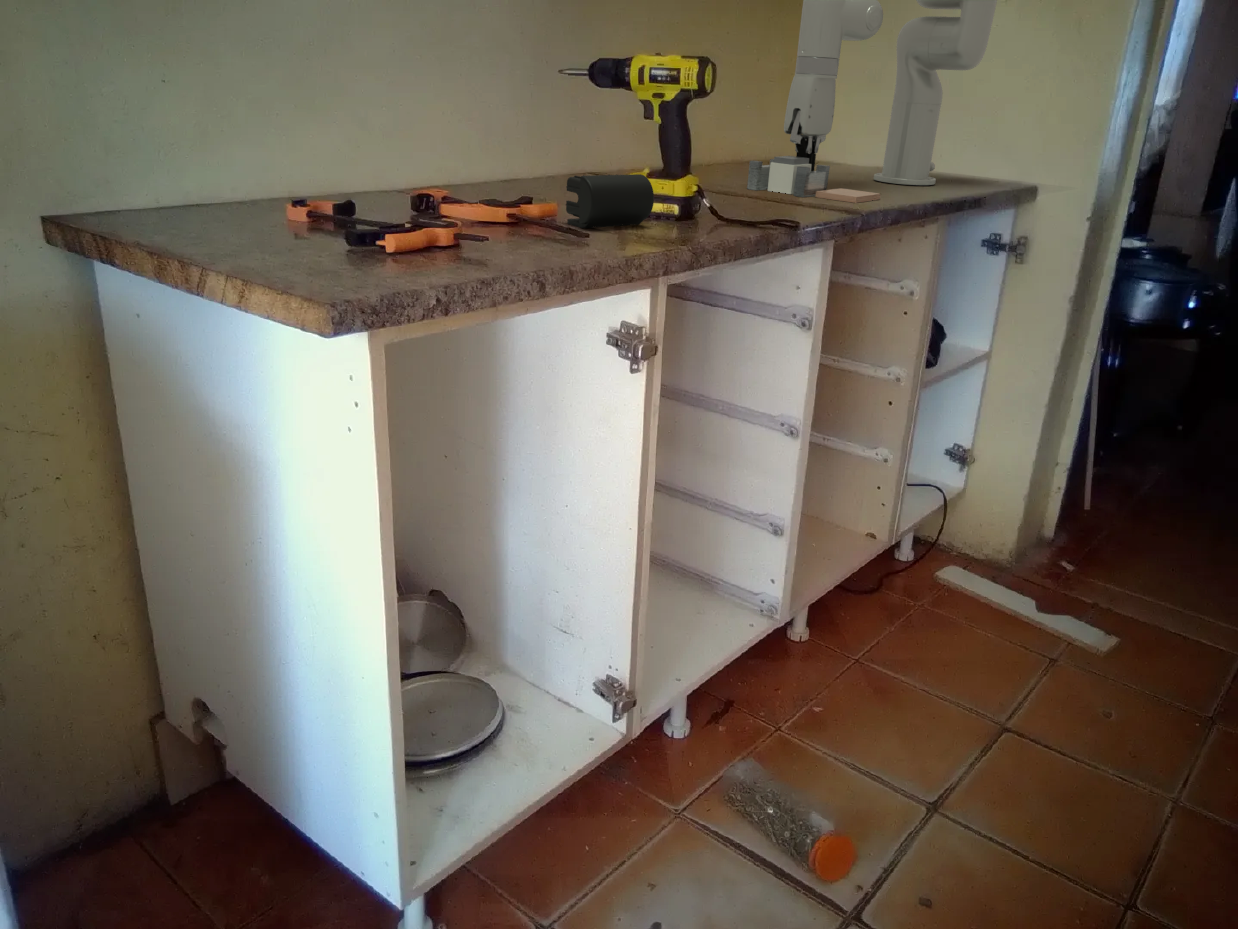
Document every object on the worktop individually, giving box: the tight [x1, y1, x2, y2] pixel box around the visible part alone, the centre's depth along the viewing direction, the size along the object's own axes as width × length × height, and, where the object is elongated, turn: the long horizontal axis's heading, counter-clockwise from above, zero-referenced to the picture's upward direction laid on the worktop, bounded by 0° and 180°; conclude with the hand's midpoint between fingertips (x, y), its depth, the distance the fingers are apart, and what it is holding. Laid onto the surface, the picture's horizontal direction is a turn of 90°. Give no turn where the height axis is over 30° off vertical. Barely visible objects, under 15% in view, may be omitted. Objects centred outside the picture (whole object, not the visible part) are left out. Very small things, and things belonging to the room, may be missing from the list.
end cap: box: [565, 173, 655, 229], centre depth 127 cm, size 10×7×7 cm
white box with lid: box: [767, 155, 812, 195], centre depth 173 cm, size 6×5×6 cm
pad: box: [815, 187, 882, 204], centre depth 169 cm, size 9×8×1 cm
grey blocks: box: [746, 158, 831, 198], centre depth 173 cm, size 8×12×5 cm, turn 49°
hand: (803, 174), depth 176 cm, fingers closed
